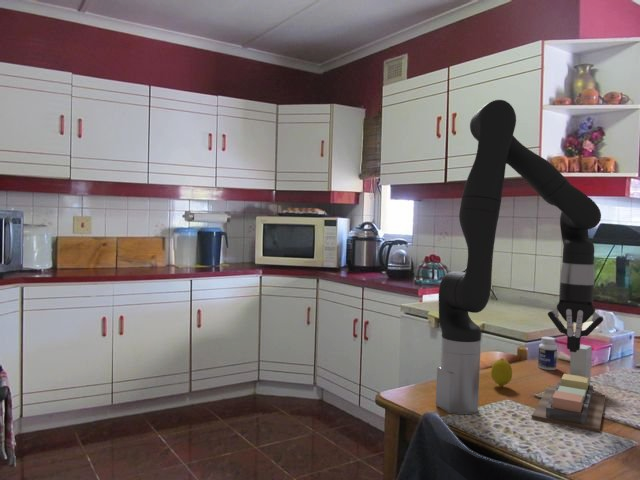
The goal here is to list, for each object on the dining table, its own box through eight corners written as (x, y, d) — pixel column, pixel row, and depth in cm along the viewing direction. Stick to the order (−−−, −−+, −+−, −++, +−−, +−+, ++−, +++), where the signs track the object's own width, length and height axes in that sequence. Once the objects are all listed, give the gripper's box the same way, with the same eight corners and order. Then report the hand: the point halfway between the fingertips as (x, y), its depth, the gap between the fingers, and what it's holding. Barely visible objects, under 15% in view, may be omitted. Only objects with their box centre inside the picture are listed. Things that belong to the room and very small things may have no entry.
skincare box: (574, 384, 152) (575, 343, 152) (590, 387, 149) (592, 345, 149) (568, 389, 147) (570, 346, 147) (585, 392, 145) (587, 349, 144)
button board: (599, 432, 116) (599, 418, 116) (531, 418, 123) (532, 405, 123) (605, 398, 140) (605, 386, 140) (548, 388, 148) (548, 377, 147)
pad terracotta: (580, 415, 120) (581, 402, 120) (551, 409, 123) (552, 397, 123) (582, 407, 125) (583, 395, 125) (555, 402, 128) (555, 390, 128)
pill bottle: (535, 368, 169) (537, 337, 169) (540, 364, 173) (541, 335, 173) (553, 371, 166) (555, 340, 165) (558, 368, 170) (559, 337, 170)
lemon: (507, 391, 144) (509, 362, 144) (487, 386, 147) (488, 358, 147) (514, 386, 148) (515, 358, 148) (494, 382, 152) (495, 354, 151)
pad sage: (583, 408, 128) (583, 396, 128) (556, 403, 131) (556, 391, 131) (585, 401, 133) (585, 390, 133) (559, 397, 136) (559, 385, 136)
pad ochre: (586, 394, 136) (586, 382, 135) (560, 390, 139) (561, 378, 138) (588, 388, 141) (588, 377, 141) (563, 384, 144) (563, 373, 144)
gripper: (545, 280, 131) (542, 350, 131) (606, 285, 124) (602, 358, 125) (550, 278, 137) (546, 345, 138) (607, 283, 131) (604, 353, 131)
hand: (573, 351), depth 131 cm, fingers closed
